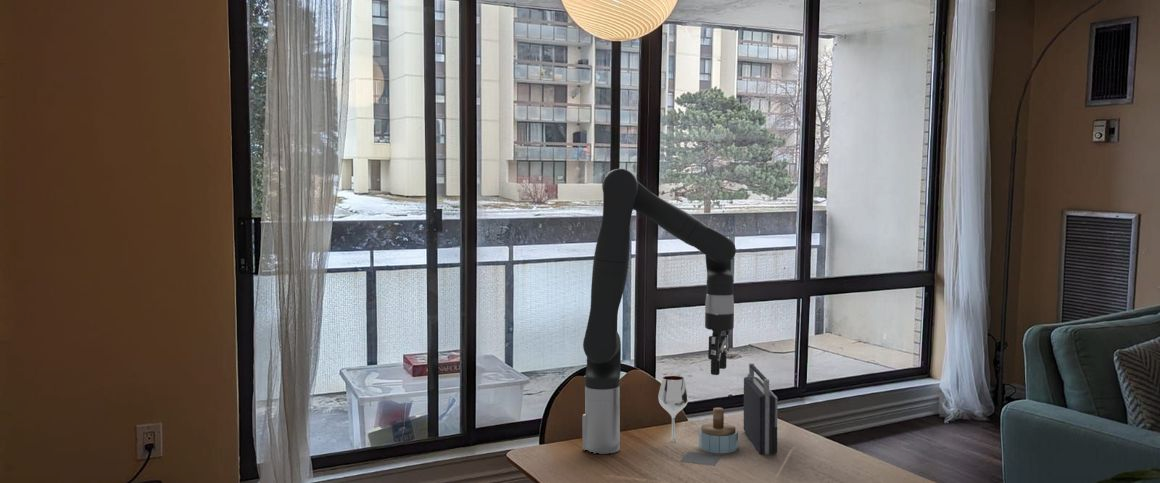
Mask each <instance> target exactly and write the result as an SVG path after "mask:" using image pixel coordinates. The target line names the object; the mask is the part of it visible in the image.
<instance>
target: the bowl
mask: <svg viewBox="0 0 1160 483" xmlns="http://www.w3.org/2000/svg"><path fill="white" fill-rule="evenodd" d="M698 446H699V449H700V450H702V451H704V452H708V453H711V454H729V453H733V452H736V451H737V450H738V448H739V431H738V430H737V429H735V433H734V434H732V435H726V436H715V435H709V434H705V433H703V432H702V431H701V428H700V429H699V430H698Z"/></svg>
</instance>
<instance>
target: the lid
mask: <svg viewBox="0 0 1160 483" xmlns="http://www.w3.org/2000/svg"><path fill="white" fill-rule="evenodd" d="M724 415H725V410H724V408H723V407H713V409H712V422H709V423H705V424H702V425H701V428H700V429H701V431H702V432H703V433H705V434H709V435H715V436H726V435H732V434H734V433H735V430H736V427H735V426H734V425H732V424H729V423H725V422H724V421H725V418H724V417H725V416H724Z"/></svg>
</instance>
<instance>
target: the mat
mask: <svg viewBox="0 0 1160 483" xmlns="http://www.w3.org/2000/svg"><path fill="white" fill-rule="evenodd" d="M722 457H723V455H722V454H716V453H705V452H695V451H687V453H686V454H685V455H684V456H683V457H682V458H681V459H680V460H679V462H680V463H688V464H696V465H697V464H698V465H706V466H713V467H715V466H716V465H717V464H718V462H719V460H721V458H722Z"/></svg>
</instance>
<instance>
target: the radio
mask: <svg viewBox="0 0 1160 483" xmlns="http://www.w3.org/2000/svg"><path fill="white" fill-rule="evenodd" d="M755 374H756V375H757V376H758V377H759V378H758V377H756V376H755ZM743 430H744V432H745V434H746V436H747V437H748V439H749V440H750V442H751V444H752V445H753V447H754V448H755V450H756V451H757V453H758V454H759V455H775V454H777V453H778V396H777V395H776V394H774V392H773V391H772V390H771V389H770V379H769V378H767V377H766V376H765V375H764V374H763V373H762V372H761V371H760V370H759V368H757V367H756V365H755V363H752V362H751V363H749V364H748V373H747V376H745V377H743Z"/></svg>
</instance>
